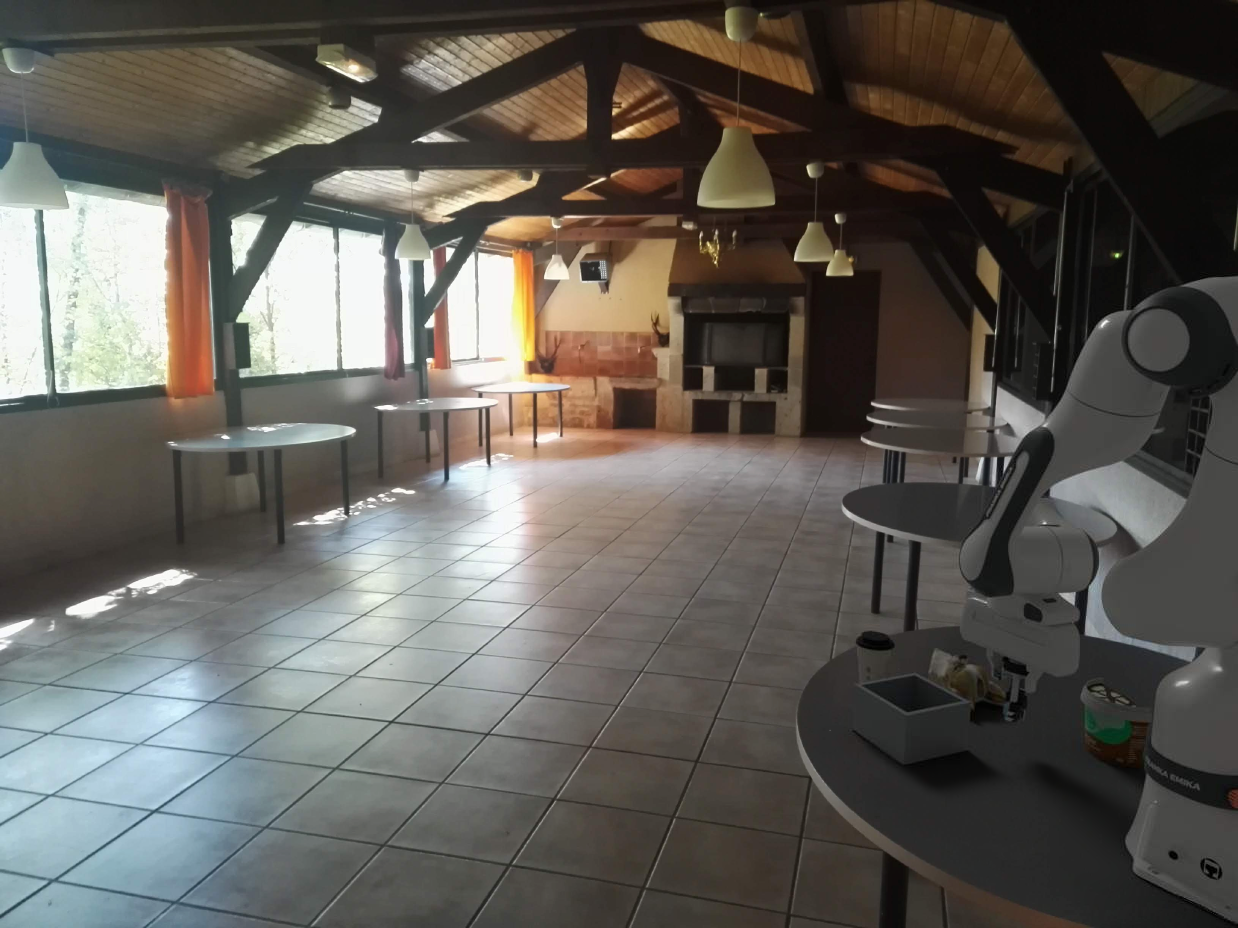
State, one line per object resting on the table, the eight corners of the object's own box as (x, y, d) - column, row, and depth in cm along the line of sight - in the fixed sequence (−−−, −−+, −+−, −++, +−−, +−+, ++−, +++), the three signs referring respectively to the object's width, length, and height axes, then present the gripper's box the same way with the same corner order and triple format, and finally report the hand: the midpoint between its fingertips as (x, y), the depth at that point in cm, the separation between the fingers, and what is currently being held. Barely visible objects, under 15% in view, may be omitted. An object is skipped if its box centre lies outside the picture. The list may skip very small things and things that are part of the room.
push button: (1025, 729, 132) (1034, 664, 131) (988, 718, 135) (996, 655, 134) (1035, 718, 137) (1044, 656, 136) (1000, 708, 140) (1008, 647, 139)
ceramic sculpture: (958, 635, 163) (1022, 669, 150) (954, 678, 165) (1016, 715, 152) (913, 643, 160) (974, 678, 146) (909, 687, 161) (968, 726, 148)
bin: (967, 749, 138) (971, 702, 136) (903, 764, 133) (906, 715, 132) (912, 717, 149) (915, 672, 148) (851, 729, 144) (854, 684, 143)
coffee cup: (900, 691, 160) (903, 638, 158) (871, 698, 157) (874, 644, 155) (874, 677, 166) (876, 627, 164) (845, 684, 163) (847, 632, 161)
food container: (1059, 735, 143) (1064, 677, 141) (1095, 734, 143) (1101, 676, 142) (1108, 774, 130) (1114, 710, 129) (1147, 772, 131) (1153, 709, 129)
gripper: (953, 583, 143) (948, 665, 144) (1057, 617, 124) (1051, 711, 125) (983, 580, 145) (978, 660, 147) (1089, 613, 126) (1083, 705, 128)
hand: (1012, 684), depth 136 cm, fingers closed on push button, 4 cm apart
